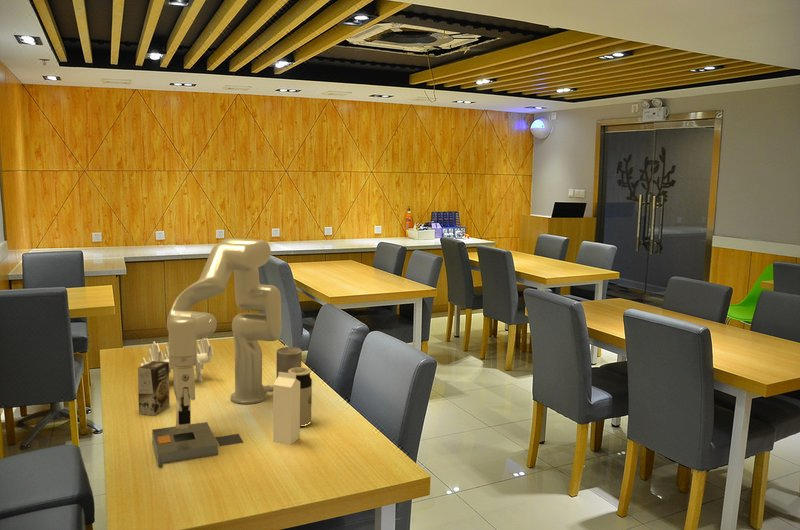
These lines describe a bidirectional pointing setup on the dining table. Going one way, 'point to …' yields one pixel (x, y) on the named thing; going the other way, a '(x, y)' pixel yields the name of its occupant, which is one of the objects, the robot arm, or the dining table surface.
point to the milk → (286, 408)
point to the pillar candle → (288, 359)
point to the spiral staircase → (202, 355)
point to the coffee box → (153, 387)
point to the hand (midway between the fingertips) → (183, 420)
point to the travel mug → (304, 392)
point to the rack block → (183, 443)
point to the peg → (178, 416)
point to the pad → (229, 440)
